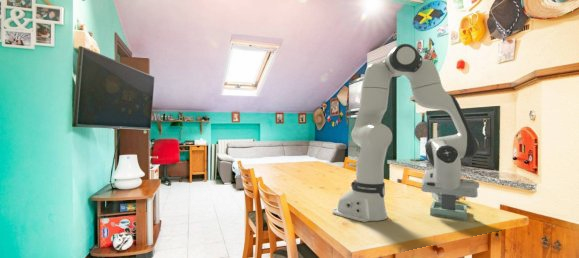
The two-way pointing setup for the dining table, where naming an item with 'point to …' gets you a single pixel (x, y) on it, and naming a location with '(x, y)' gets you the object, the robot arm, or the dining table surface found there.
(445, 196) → the gray rectangular block
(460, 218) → the tray
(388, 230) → the dining table surface
